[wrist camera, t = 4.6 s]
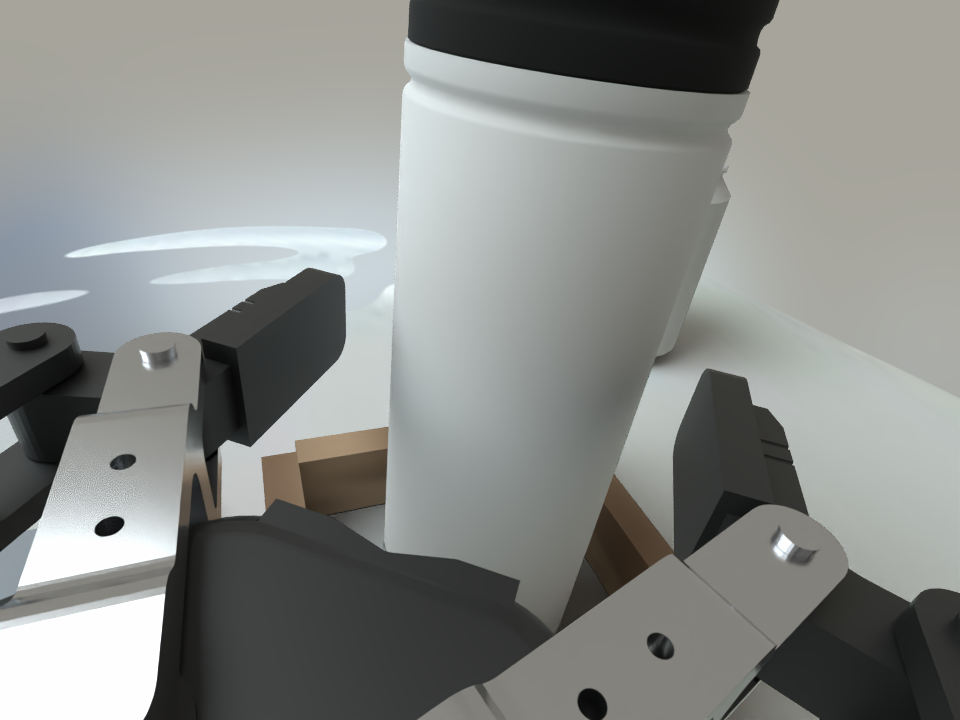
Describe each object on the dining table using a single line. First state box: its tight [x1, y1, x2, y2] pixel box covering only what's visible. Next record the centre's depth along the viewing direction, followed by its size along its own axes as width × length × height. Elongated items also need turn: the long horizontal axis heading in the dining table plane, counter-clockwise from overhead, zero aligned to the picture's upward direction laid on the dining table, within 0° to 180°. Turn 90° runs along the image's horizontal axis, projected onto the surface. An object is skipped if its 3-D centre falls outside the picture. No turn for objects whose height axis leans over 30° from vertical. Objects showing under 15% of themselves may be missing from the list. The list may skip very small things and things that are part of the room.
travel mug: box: [384, 0, 779, 635], centre depth 14 cm, size 6×7×20 cm
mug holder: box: [261, 427, 674, 596], centre depth 18 cm, size 12×12×3 cm
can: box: [656, 163, 731, 357], centre depth 33 cm, size 8×8×12 cm
